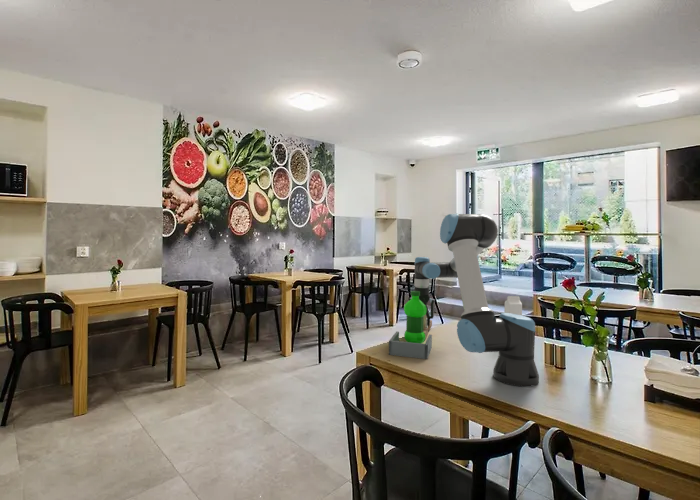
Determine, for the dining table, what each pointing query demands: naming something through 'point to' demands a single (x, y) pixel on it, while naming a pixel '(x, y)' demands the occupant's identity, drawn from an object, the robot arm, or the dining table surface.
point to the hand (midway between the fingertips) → (421, 330)
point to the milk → (513, 305)
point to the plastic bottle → (415, 319)
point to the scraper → (425, 326)
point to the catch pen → (409, 347)
